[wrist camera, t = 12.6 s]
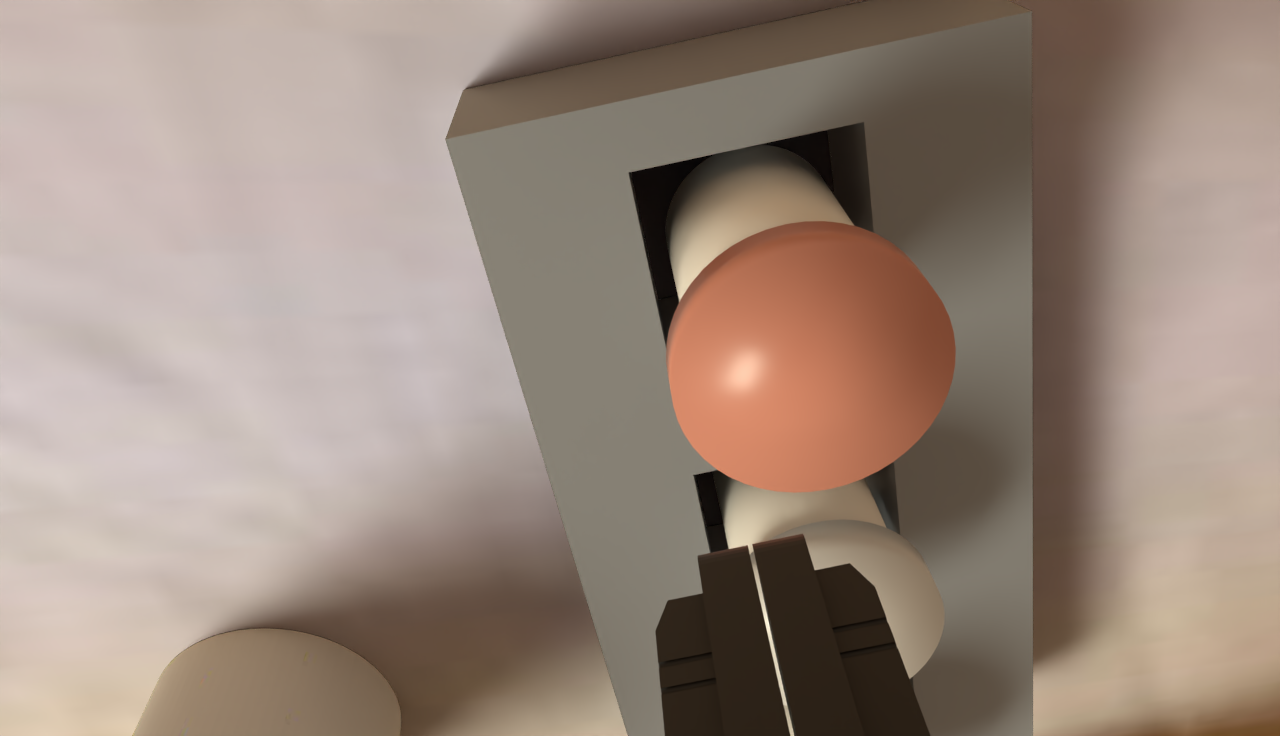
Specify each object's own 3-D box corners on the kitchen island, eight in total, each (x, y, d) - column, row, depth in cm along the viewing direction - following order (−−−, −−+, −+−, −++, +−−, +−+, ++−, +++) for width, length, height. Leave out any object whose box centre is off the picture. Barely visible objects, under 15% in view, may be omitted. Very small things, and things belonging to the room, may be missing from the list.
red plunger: (845, 101, 22) (950, 215, 16) (864, 299, 25) (961, 462, 19) (624, 148, 22) (645, 279, 16) (665, 340, 25) (696, 515, 19)
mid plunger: (857, 368, 28) (939, 528, 21) (872, 508, 30) (949, 687, 24) (680, 404, 28) (711, 573, 22) (709, 540, 30) (745, 726, 24)
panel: (962, -21, 23) (1032, 11, 20) (987, 686, 35) (1033, 783, 32) (463, 89, 24) (445, 139, 20) (654, 749, 36) (663, 851, 32)
